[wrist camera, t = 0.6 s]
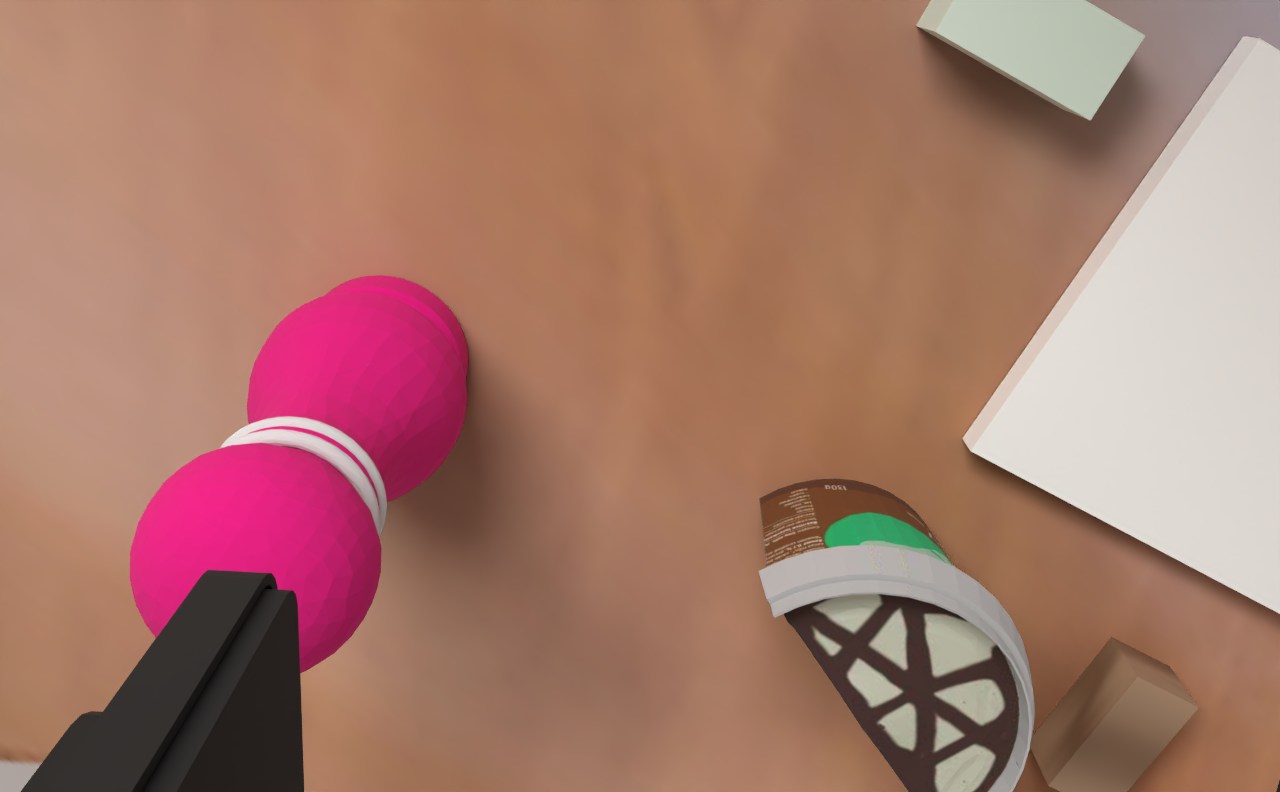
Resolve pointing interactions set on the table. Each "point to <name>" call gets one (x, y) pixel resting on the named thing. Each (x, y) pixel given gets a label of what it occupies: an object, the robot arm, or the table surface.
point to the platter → (1171, 351)
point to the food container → (901, 634)
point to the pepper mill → (314, 460)
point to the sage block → (1040, 45)
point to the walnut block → (1111, 722)
